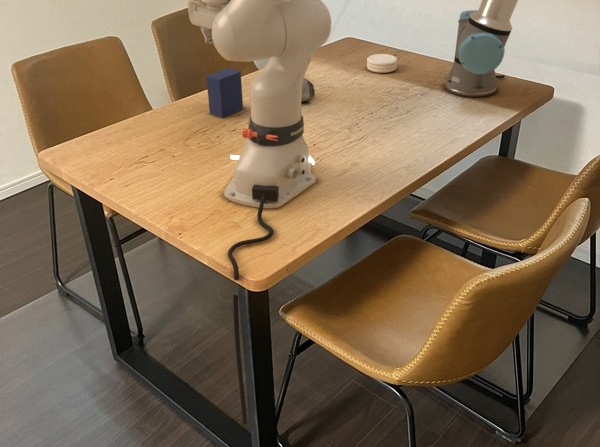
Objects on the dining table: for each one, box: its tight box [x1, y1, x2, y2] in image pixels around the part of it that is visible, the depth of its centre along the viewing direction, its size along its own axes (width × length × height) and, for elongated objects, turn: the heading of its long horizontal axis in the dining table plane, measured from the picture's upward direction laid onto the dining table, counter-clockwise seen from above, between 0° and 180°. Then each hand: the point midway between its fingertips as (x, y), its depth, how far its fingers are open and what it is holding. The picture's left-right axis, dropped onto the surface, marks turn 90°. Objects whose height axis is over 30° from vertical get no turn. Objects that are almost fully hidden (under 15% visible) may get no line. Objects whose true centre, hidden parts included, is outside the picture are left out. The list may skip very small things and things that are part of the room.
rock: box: [301, 77, 316, 102], centre depth 184 cm, size 15×10×7 cm
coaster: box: [366, 53, 398, 74], centre depth 205 cm, size 10×10×4 cm
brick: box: [205, 67, 244, 119], centre depth 174 cm, size 5×8×11 cm, turn 141°
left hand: (221, 46), depth 167 cm, fingers open, 8 cm apart
